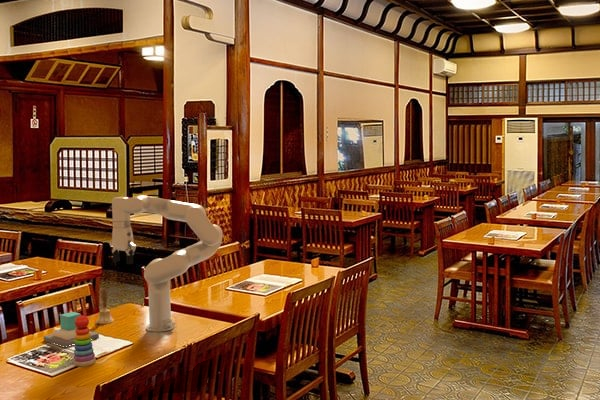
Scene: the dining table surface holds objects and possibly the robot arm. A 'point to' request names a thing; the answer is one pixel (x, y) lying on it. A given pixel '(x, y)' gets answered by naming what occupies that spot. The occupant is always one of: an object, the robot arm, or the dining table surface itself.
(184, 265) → the robot arm
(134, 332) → the dining table surface
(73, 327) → the teal cube
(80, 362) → the stacking toy
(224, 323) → the dining table surface
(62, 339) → the stack base
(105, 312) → the hand bell
